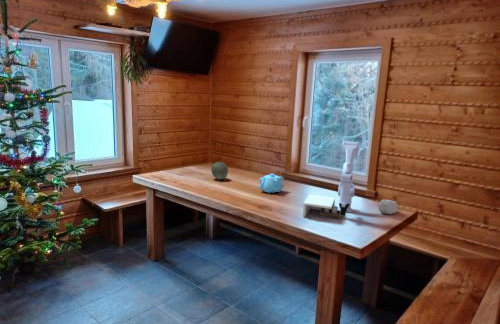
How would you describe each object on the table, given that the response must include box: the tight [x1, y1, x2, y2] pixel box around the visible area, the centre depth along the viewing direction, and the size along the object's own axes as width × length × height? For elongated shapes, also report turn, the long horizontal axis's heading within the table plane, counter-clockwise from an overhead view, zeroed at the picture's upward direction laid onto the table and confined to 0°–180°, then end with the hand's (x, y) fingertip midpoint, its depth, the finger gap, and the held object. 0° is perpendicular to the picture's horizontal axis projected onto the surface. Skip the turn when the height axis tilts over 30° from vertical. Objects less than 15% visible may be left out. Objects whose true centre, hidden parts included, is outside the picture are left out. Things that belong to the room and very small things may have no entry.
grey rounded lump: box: [378, 199, 399, 215], centre depth 219 cm, size 9×11×15 cm
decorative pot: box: [258, 173, 285, 194], centre depth 258 cm, size 16×16×14 cm
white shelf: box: [302, 194, 336, 218], centre depth 211 cm, size 20×16×9 cm
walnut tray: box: [319, 205, 342, 220], centre depth 209 cm, size 8×12×6 cm, turn 70°
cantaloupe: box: [210, 161, 229, 181], centre depth 289 cm, size 14×14×15 cm
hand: (343, 215), depth 207 cm, fingers closed, pressing on walnut tray
